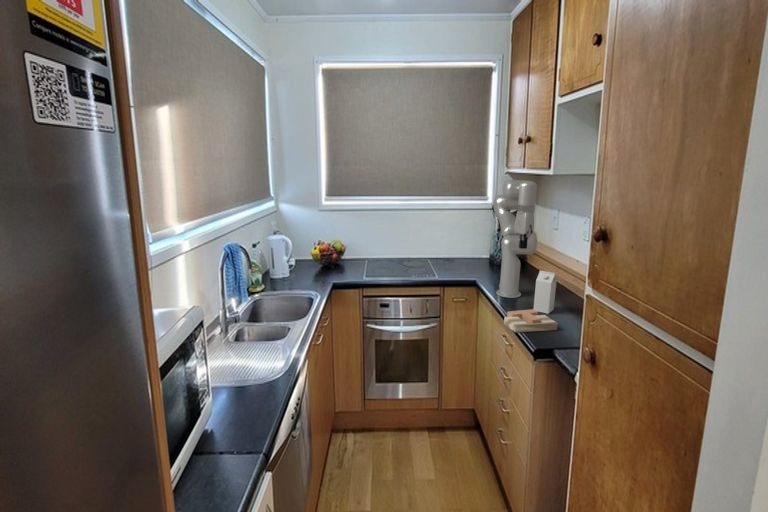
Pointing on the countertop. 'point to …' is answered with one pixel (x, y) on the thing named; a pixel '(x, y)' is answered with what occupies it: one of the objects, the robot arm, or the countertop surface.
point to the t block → (525, 315)
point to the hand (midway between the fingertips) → (522, 248)
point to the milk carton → (545, 292)
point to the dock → (530, 324)
